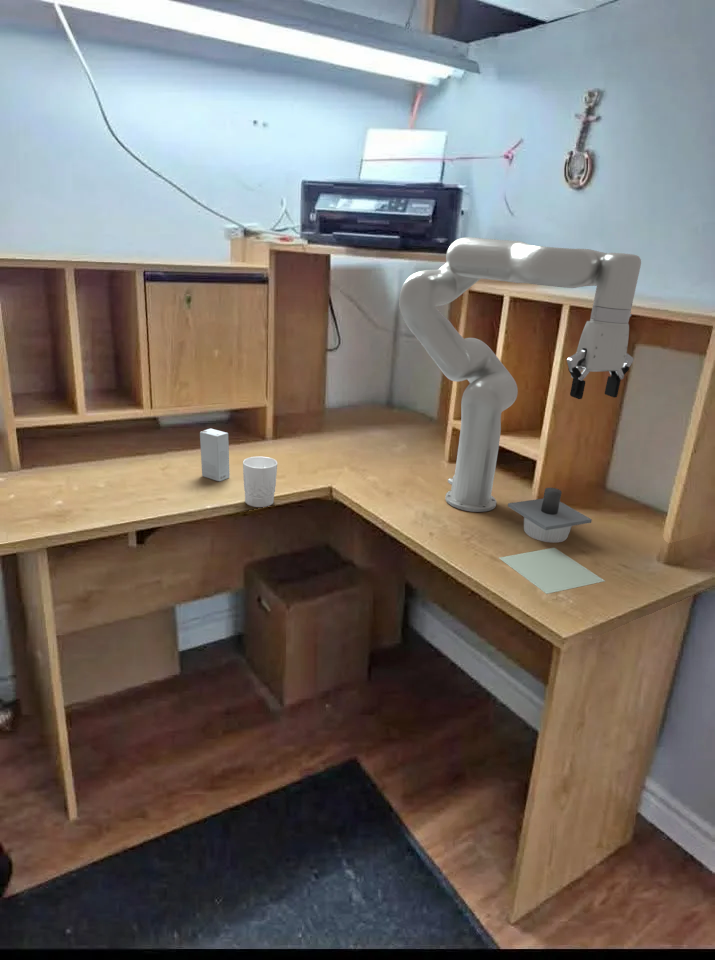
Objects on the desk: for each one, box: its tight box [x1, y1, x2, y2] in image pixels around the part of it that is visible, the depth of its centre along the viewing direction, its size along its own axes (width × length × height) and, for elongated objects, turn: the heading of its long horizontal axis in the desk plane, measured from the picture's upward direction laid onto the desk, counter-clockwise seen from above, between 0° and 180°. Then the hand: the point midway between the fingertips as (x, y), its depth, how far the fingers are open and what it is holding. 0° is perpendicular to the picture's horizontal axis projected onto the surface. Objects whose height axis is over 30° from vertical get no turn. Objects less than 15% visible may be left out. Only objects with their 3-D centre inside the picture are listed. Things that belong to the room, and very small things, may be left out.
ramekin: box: [523, 517, 573, 544], centre depth 151 cm, size 11×11×5 cm
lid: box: [507, 487, 593, 530], centre depth 149 cm, size 13×13×6 cm
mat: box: [498, 547, 606, 595], centre depth 135 cm, size 15×15×1 cm
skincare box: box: [199, 428, 231, 482], centre depth 168 cm, size 6×4×12 cm
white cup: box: [242, 456, 278, 508], centre depth 156 cm, size 8×8×10 cm
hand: (593, 396), depth 144 cm, fingers open, 9 cm apart
